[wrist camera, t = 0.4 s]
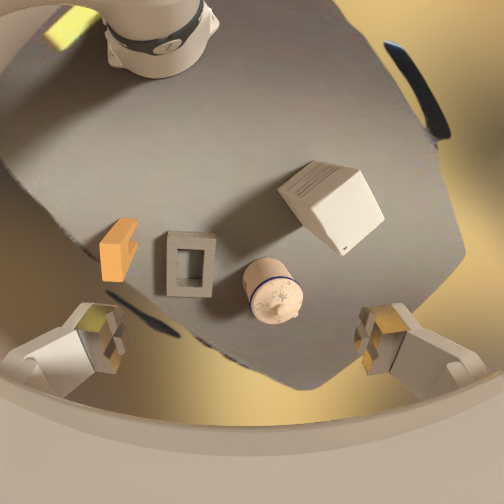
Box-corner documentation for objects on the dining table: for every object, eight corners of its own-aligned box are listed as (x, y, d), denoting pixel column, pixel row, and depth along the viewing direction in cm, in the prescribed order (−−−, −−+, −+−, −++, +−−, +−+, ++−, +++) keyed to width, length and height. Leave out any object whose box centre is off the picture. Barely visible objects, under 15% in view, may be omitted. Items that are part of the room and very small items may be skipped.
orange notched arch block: (136, 249, 46) (122, 282, 35) (120, 248, 45) (102, 280, 34) (136, 218, 44) (120, 244, 33) (120, 218, 43) (99, 243, 32)
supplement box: (339, 197, 50) (387, 220, 36) (302, 226, 51) (341, 259, 37) (314, 158, 46) (361, 168, 32) (275, 188, 47) (309, 209, 33)
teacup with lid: (230, 278, 52) (241, 314, 41) (267, 245, 51) (287, 275, 40) (270, 313, 57) (287, 350, 46) (303, 284, 56) (328, 317, 45)
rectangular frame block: (167, 287, 50) (166, 295, 47) (168, 230, 46) (167, 236, 43) (210, 289, 52) (211, 297, 49) (215, 233, 48) (216, 238, 45)
